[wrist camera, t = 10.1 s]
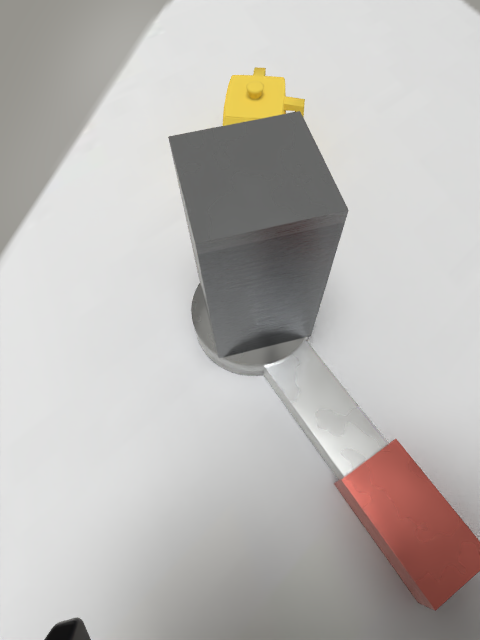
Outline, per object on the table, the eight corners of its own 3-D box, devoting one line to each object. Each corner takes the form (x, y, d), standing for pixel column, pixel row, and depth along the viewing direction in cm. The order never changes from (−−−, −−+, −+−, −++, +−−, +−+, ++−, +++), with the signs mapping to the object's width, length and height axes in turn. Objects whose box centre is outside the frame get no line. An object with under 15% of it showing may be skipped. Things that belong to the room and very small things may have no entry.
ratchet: (497, 532, 20) (555, 532, 16) (388, 629, 18) (423, 655, 14) (266, 257, 27) (269, 214, 24) (175, 308, 26) (162, 271, 22)
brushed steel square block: (310, 335, 22) (348, 210, 14) (218, 358, 22) (195, 243, 13) (283, 260, 25) (299, 110, 16) (199, 279, 24) (168, 136, 15)
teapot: (296, 192, 30) (304, 131, 25) (218, 186, 30) (212, 125, 26) (301, 119, 34) (309, 54, 29) (231, 115, 34) (228, 50, 29)
